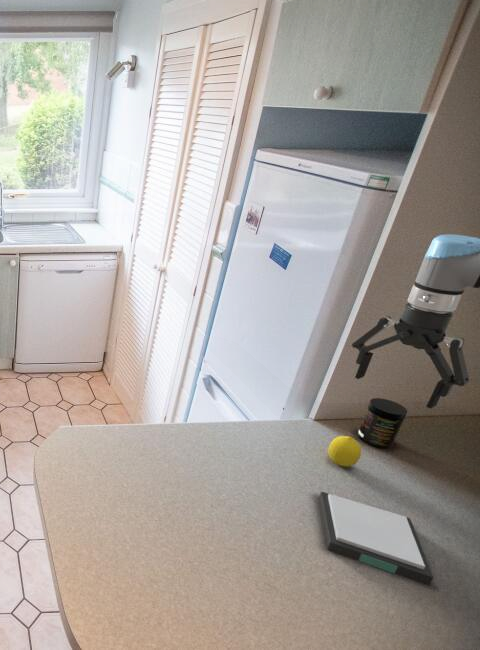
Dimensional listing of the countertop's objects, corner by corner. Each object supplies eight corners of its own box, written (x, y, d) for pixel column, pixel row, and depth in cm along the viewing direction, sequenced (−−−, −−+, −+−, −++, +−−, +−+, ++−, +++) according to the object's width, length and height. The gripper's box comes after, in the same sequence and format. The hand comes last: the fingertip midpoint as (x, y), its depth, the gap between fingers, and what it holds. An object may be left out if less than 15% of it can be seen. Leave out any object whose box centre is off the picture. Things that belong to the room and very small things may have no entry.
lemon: (350, 477, 100) (362, 448, 97) (320, 464, 104) (331, 436, 101) (357, 466, 103) (368, 438, 100) (328, 453, 107) (338, 426, 104)
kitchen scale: (405, 527, 88) (411, 515, 87) (428, 587, 77) (435, 574, 76) (317, 500, 94) (322, 488, 93) (326, 551, 83) (331, 539, 82)
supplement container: (398, 452, 107) (414, 416, 103) (366, 449, 109) (381, 413, 105) (380, 434, 113) (395, 399, 109) (350, 431, 115) (363, 396, 111)
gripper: (353, 291, 106) (325, 370, 114) (505, 333, 85) (458, 425, 94) (369, 286, 109) (341, 363, 117) (520, 325, 88) (473, 415, 97)
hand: (393, 391), depth 106 cm, fingers open, 13 cm apart
